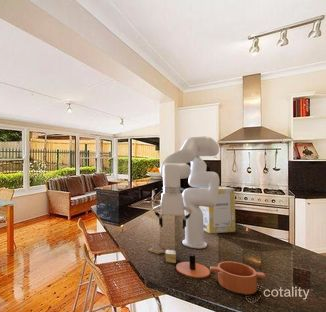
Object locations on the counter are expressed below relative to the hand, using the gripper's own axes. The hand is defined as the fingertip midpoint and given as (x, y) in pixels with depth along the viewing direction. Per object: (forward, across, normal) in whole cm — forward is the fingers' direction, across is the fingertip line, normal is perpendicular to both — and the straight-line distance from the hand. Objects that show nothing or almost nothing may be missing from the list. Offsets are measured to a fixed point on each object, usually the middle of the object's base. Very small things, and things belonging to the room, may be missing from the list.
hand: (172, 227), depth 108 cm
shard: (+17, +9, -13) cm, 23 cm away
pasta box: (+17, -28, -60) cm, 68 cm away
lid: (+16, -8, +5) cm, 19 cm away
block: (+17, +1, -2) cm, 17 cm away
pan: (+17, -23, +12) cm, 31 cm away
